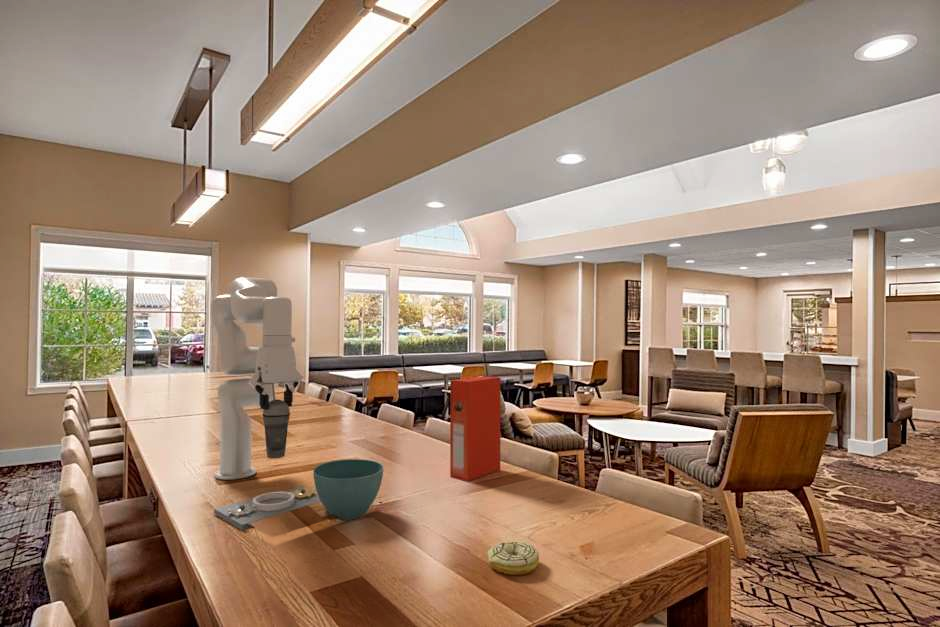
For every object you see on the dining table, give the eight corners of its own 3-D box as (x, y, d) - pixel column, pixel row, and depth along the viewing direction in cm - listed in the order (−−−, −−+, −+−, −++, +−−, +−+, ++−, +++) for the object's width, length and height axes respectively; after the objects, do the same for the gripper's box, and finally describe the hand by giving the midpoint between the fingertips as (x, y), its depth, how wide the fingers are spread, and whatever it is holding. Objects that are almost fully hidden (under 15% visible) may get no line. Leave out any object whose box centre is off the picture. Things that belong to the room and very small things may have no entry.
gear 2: (285, 495, 149) (285, 490, 149) (307, 489, 154) (307, 484, 154) (298, 501, 144) (298, 495, 144) (320, 495, 149) (320, 489, 149)
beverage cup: (280, 460, 139) (281, 385, 139) (256, 459, 140) (256, 384, 141) (295, 453, 146) (295, 382, 146) (271, 452, 148) (272, 381, 148)
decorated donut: (495, 552, 117) (495, 535, 118) (543, 559, 114) (543, 542, 114) (481, 573, 108) (482, 554, 108) (533, 581, 104) (533, 562, 104)
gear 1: (222, 512, 135) (222, 506, 135) (248, 505, 141) (248, 499, 141) (234, 519, 131) (234, 513, 131) (261, 512, 136) (261, 505, 136)
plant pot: (394, 506, 145) (395, 462, 145) (360, 531, 128) (360, 481, 128) (338, 499, 151) (338, 456, 151) (298, 522, 134) (298, 473, 134)
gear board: (214, 514, 138) (214, 503, 138) (299, 491, 157) (299, 481, 157) (242, 530, 128) (242, 518, 128) (330, 504, 146) (330, 493, 147)
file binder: (449, 476, 173) (450, 380, 173) (482, 465, 186) (482, 376, 187) (468, 481, 168) (469, 382, 168) (500, 470, 181) (501, 377, 181)
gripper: (297, 340, 153) (297, 402, 152) (239, 342, 140) (238, 409, 139) (312, 341, 148) (311, 405, 148) (253, 343, 135) (252, 413, 134)
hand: (276, 406), depth 143 cm, fingers closed on beverage cup, 6 cm apart
